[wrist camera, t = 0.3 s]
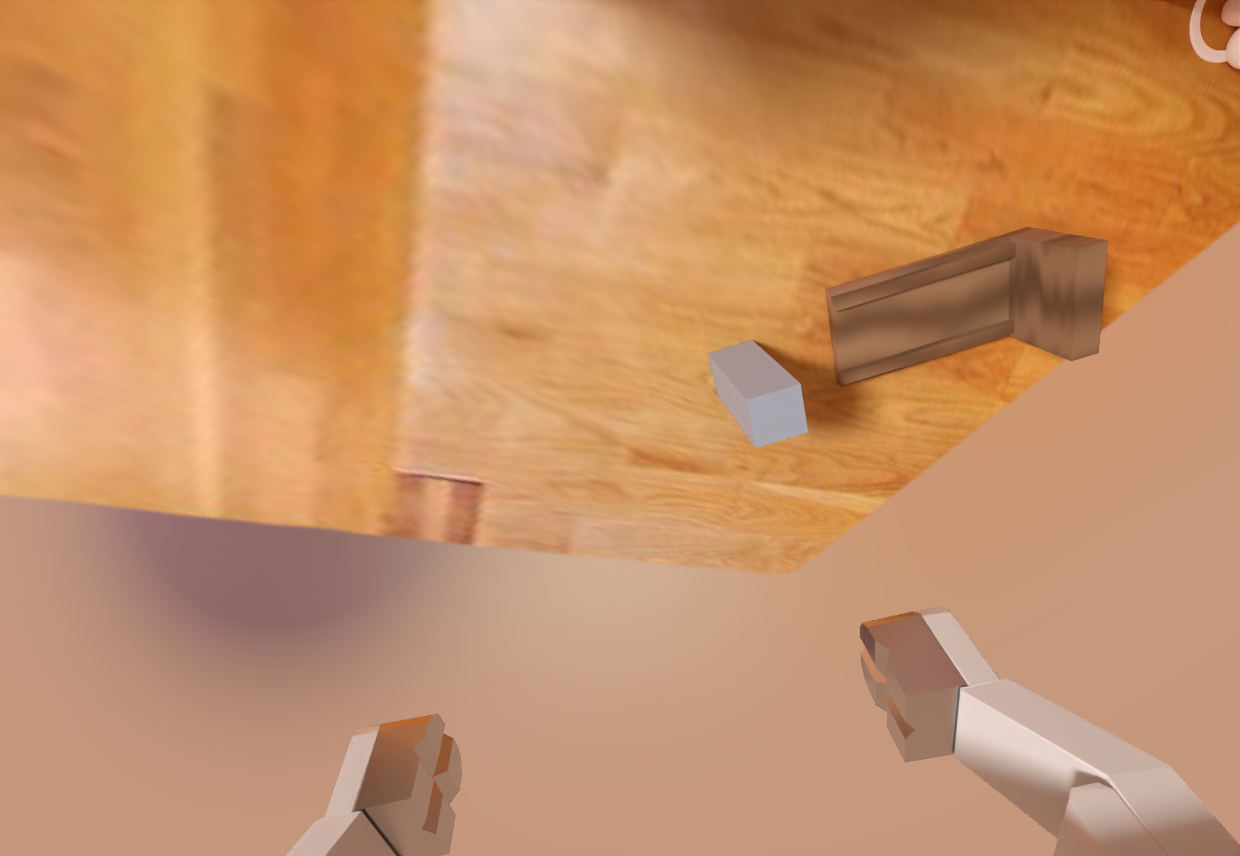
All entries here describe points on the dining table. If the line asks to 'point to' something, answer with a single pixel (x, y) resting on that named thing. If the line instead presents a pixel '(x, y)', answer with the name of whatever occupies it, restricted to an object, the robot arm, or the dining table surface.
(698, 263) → the dining table surface
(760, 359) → the block
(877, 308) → the holder
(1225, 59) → the teacup and saucer
